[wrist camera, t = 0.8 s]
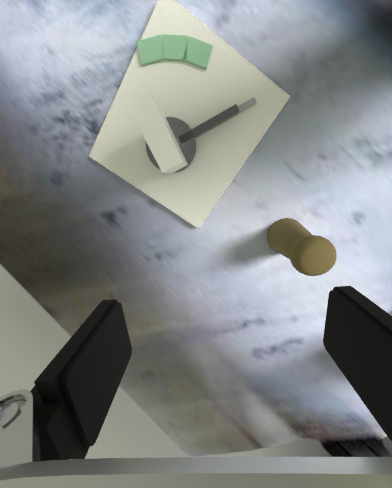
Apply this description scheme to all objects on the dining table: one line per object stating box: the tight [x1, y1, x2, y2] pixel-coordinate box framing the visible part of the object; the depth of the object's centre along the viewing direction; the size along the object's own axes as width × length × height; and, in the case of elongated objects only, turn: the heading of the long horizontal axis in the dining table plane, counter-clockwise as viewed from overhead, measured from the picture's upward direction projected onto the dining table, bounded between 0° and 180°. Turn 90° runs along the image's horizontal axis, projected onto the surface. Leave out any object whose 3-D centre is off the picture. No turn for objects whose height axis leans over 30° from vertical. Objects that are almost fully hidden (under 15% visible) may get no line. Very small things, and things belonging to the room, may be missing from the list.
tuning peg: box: [126, 87, 239, 174], centre depth 24 cm, size 14×7×10 cm, turn 116°
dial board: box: [89, 0, 291, 229], centre depth 29 cm, size 22×20×2 cm
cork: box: [267, 218, 336, 276], centre depth 29 cm, size 6×6×11 cm
